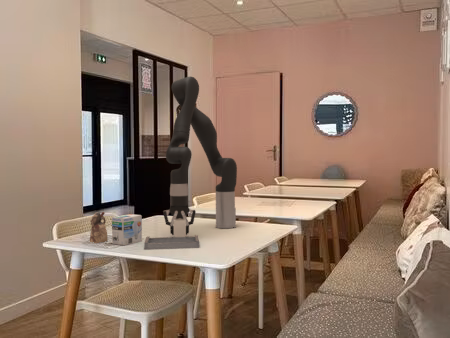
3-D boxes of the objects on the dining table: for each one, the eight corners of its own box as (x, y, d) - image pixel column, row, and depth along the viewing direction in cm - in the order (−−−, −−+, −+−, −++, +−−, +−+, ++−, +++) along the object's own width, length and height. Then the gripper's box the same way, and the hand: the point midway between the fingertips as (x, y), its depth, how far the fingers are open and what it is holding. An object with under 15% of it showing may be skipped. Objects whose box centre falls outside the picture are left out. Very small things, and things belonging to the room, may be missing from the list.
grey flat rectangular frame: (197, 241, 176) (197, 235, 175) (199, 247, 164) (199, 241, 164) (146, 242, 173) (146, 236, 173) (144, 249, 162) (144, 242, 161)
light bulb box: (123, 245, 168) (123, 218, 168) (111, 244, 172) (111, 216, 171) (142, 241, 177) (142, 214, 177) (130, 239, 181) (130, 213, 180)
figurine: (88, 240, 179) (88, 211, 179) (106, 239, 182) (105, 210, 181) (90, 243, 173) (89, 213, 172) (108, 242, 175) (108, 212, 175)
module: (185, 236, 187) (185, 217, 187) (186, 239, 179) (185, 220, 179) (173, 236, 186) (173, 217, 186) (173, 240, 179) (173, 220, 178)
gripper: (196, 193, 187) (196, 232, 187) (162, 193, 185) (162, 233, 186) (196, 195, 179) (197, 235, 180) (161, 195, 178) (162, 236, 178)
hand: (179, 234), depth 183 cm, fingers closed on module, 5 cm apart
